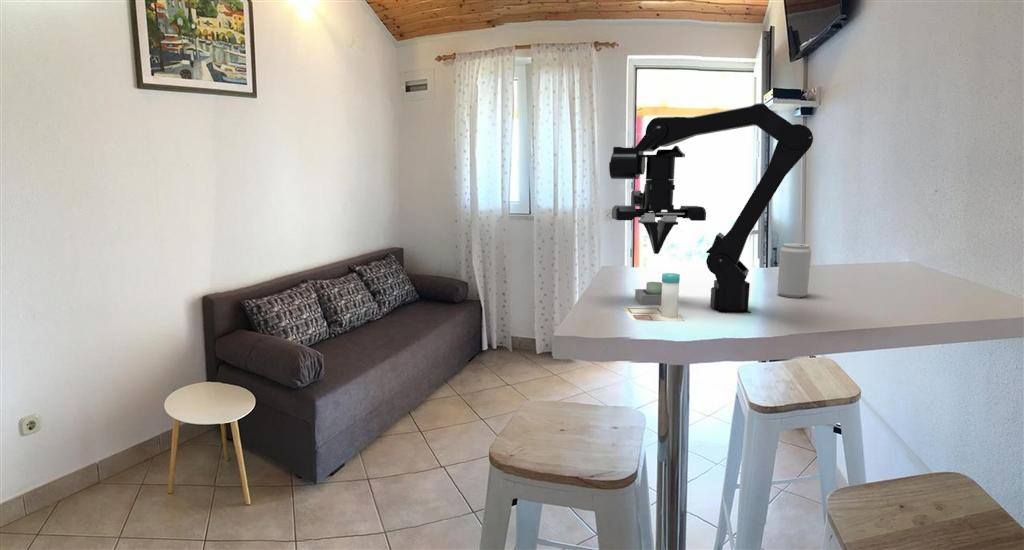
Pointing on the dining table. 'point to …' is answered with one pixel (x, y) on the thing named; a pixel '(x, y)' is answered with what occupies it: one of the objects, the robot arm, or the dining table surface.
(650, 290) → the button
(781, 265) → the beverage can
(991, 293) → the dining table surface
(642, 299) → the button housing
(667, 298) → the marker
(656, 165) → the robot arm
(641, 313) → the drawing board
